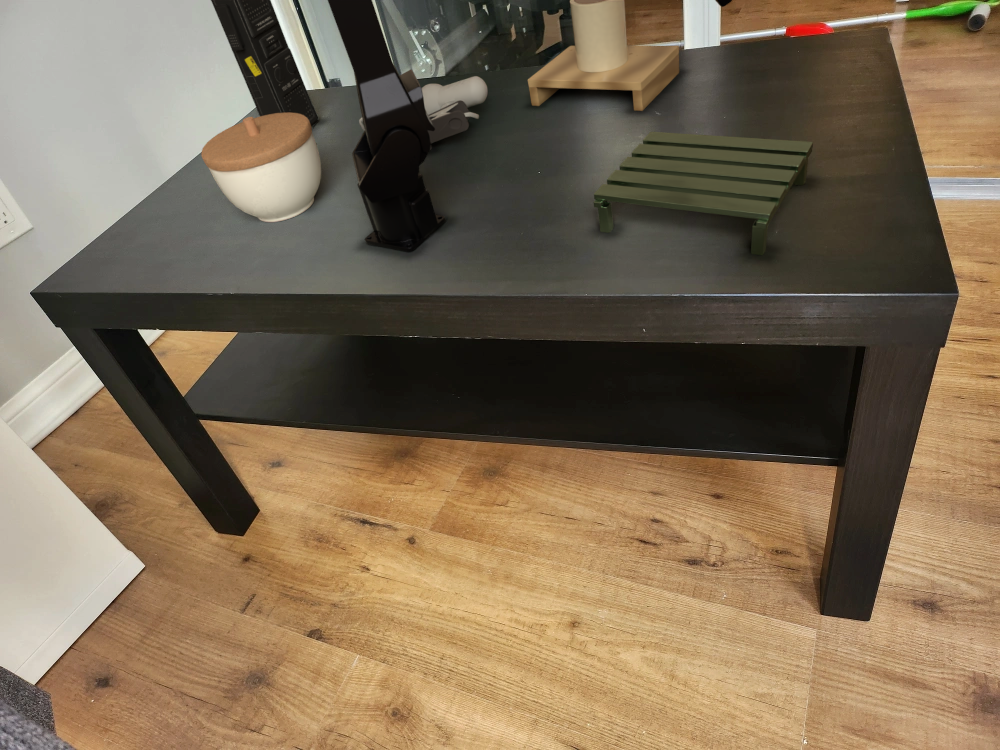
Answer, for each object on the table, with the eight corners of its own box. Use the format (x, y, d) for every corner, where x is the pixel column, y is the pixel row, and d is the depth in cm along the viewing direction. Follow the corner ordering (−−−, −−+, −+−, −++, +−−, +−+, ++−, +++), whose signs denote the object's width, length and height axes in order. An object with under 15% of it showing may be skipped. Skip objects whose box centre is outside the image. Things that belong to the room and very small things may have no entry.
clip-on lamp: (361, 174, 96) (471, 143, 87) (335, 132, 92) (447, 96, 83) (396, 128, 103) (501, 95, 94) (373, 88, 99) (480, 49, 90)
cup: (568, 72, 92) (560, 5, 87) (591, 53, 96) (584, -12, 90) (614, 73, 88) (609, 3, 83) (636, 53, 92) (632, -15, 87)
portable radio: (295, 144, 101) (216, -53, 85) (261, 145, 103) (178, -46, 87) (322, 120, 106) (253, -70, 90) (290, 122, 108) (217, -63, 92)
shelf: (531, 105, 95) (527, 79, 93) (573, 70, 102) (570, 45, 99) (642, 111, 87) (640, 82, 85) (679, 72, 94) (678, 45, 91)
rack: (595, 233, 68) (591, 196, 65) (653, 165, 76) (652, 129, 73) (765, 258, 60) (767, 216, 57) (810, 179, 68) (814, 139, 65)
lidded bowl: (348, 206, 83) (314, 114, 76) (244, 247, 80) (199, 156, 73) (321, 171, 92) (289, 87, 85) (227, 207, 89) (186, 122, 82)
